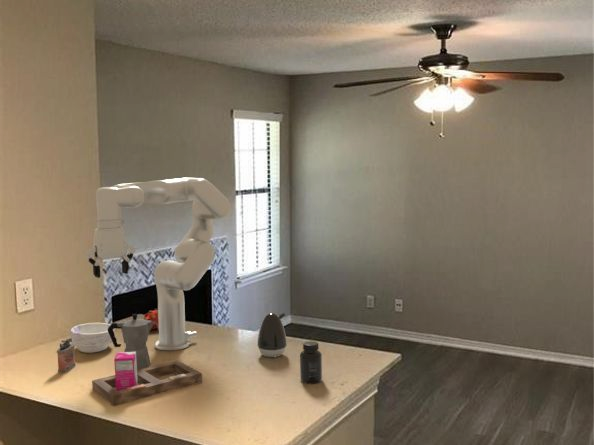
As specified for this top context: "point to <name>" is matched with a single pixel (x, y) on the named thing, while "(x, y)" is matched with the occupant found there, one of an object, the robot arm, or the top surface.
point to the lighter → (66, 356)
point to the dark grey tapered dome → (272, 336)
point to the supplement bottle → (310, 363)
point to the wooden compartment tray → (148, 382)
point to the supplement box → (125, 370)
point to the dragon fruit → (153, 318)
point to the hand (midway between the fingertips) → (111, 275)
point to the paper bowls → (91, 337)
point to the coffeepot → (134, 338)
